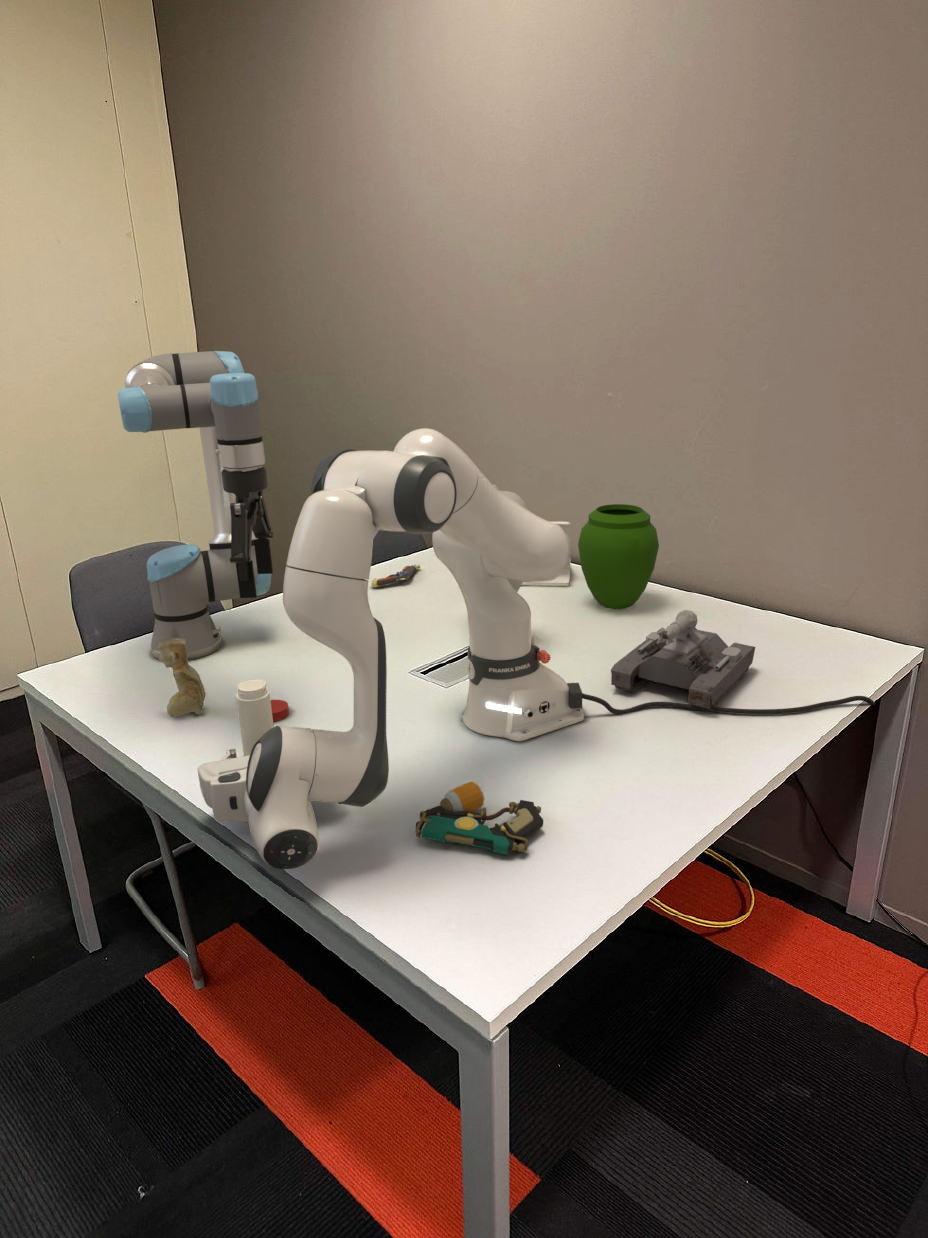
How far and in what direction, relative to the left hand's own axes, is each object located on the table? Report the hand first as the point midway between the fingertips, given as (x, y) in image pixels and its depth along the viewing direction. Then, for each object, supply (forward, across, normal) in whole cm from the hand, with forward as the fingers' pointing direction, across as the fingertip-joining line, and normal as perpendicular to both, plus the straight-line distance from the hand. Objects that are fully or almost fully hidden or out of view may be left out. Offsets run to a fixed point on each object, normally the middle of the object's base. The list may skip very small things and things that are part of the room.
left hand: (257, 585), depth 154 cm
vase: (+26, -56, +75) cm, 97 cm away
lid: (+25, 0, 0) cm, 25 cm away
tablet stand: (+26, -82, +54) cm, 101 cm away
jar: (+26, +20, +2) cm, 33 cm away
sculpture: (+26, -2, -17) cm, 31 cm away
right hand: (+19, +26, +4) cm, 32 cm away
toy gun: (+26, -82, +18) cm, 87 cm away
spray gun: (+26, +40, +39) cm, 62 cm away
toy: (+26, -10, +81) cm, 85 cm away
